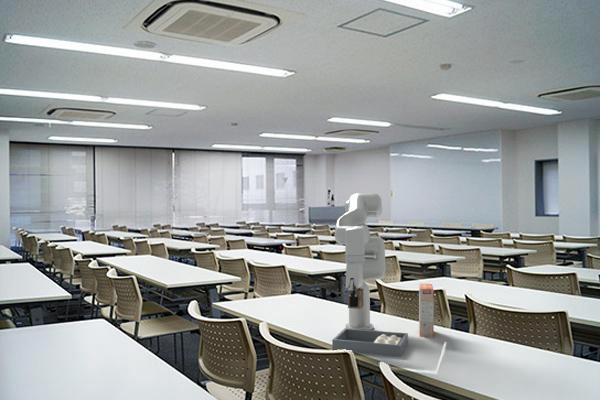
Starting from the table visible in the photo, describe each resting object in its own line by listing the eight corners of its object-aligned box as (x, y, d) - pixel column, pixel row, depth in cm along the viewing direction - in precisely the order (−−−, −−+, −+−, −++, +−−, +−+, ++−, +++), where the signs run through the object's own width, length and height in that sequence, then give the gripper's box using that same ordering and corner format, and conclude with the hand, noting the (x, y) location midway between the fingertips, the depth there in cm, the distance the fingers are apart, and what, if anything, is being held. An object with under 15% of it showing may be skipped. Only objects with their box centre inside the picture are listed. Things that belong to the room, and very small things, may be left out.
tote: (344, 340, 217) (344, 328, 217) (408, 345, 208) (407, 333, 208) (332, 352, 200) (332, 339, 200) (400, 359, 191) (400, 345, 191)
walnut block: (351, 305, 209) (351, 288, 209) (363, 306, 208) (363, 288, 208) (348, 308, 205) (347, 290, 205) (360, 308, 203) (360, 290, 203)
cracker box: (434, 339, 218) (434, 288, 218) (419, 338, 219) (419, 288, 219) (432, 330, 231) (432, 283, 231) (419, 329, 233) (418, 283, 233)
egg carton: (378, 343, 209) (378, 332, 209) (401, 345, 206) (401, 333, 205) (373, 351, 198) (372, 339, 198) (396, 353, 195) (396, 341, 195)
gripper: (351, 256, 215) (351, 300, 215) (340, 261, 199) (340, 309, 199) (369, 256, 213) (369, 301, 213) (359, 262, 197) (359, 310, 197)
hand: (355, 304), depth 206 cm, fingers closed on walnut block, 5 cm apart
